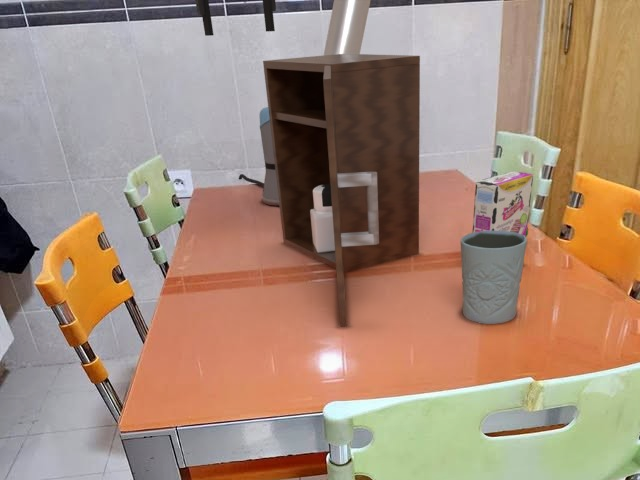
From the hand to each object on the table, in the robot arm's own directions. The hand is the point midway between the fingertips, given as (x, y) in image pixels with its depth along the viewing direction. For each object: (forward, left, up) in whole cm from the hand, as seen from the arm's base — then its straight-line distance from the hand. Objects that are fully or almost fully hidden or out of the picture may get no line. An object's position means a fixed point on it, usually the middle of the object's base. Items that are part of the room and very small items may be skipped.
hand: (240, 33), depth 133 cm
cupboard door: (+48, -25, -39) cm, 66 cm away
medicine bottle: (+27, -7, -38) cm, 47 cm away
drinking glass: (+71, -20, -39) cm, 83 cm away
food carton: (+62, 0, -39) cm, 73 cm away
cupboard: (+28, -3, -39) cm, 48 cm away
